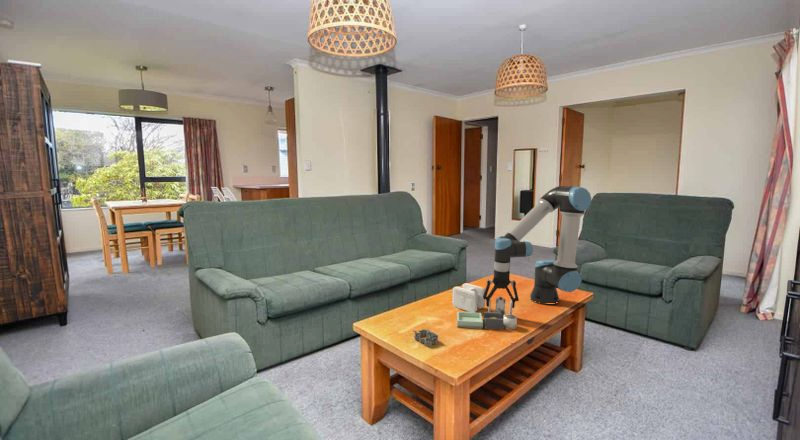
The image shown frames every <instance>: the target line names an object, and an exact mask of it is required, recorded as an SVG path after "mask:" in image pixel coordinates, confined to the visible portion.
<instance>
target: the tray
mask: <svg viewBox="0 0 800 440" xmlns="http://www.w3.org/2000/svg"><path fill="white" fill-rule="evenodd" d="M456 325H457V328H467V329H482V330H483V327H484V319H483V317H482V312H467V311H456Z"/></svg>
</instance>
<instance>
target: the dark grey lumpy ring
mask: <svg viewBox="0 0 800 440" xmlns="http://www.w3.org/2000/svg"><path fill="white" fill-rule="evenodd" d="M412 332H414V336H413V337H414V338H413V339H414V340H415V341H419V342H418V343H420V344H424V346H425V347H432V346H433V345H438V342H439V337H440V334H436V333H435V332H433V331H432V330H430V329H429V328H423V329H419V330H418V332H417V330H414V329H413V330H412ZM422 336H425V337H422Z"/></svg>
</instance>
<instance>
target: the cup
mask: <svg viewBox="0 0 800 440" xmlns="http://www.w3.org/2000/svg"><path fill="white" fill-rule="evenodd" d="M502 319H503V329H506V328H507V329H506V330H510V329H514V330H516V329H517V325H518V324H517V322H518V316H517V315H515V314H513V313H512V314H510V313H505V315H504V317H503V318H502ZM515 328H516V329H515Z"/></svg>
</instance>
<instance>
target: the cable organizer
mask: <svg viewBox="0 0 800 440" xmlns="http://www.w3.org/2000/svg"><path fill="white" fill-rule="evenodd" d="M461 286H462V287H460V286H453V288H452V299H451V300H452V305H453V307H455V308H456V309H459V310H464V311H465V312H474V313H477V311H478V309H483V308H485V306H486V300H485V299H483V295H484V292H485V289H486V288H484V287H482V286H479V285H474V284H471V283H467V282H465V283H463V284H462V285H461Z"/></svg>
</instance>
